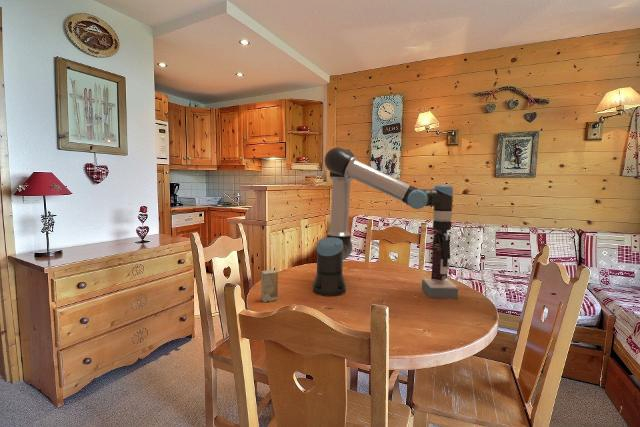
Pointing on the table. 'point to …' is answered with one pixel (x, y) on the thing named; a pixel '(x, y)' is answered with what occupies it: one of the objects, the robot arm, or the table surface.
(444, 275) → the supplement box
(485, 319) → the table surface
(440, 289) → the platform
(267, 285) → the skincare box
